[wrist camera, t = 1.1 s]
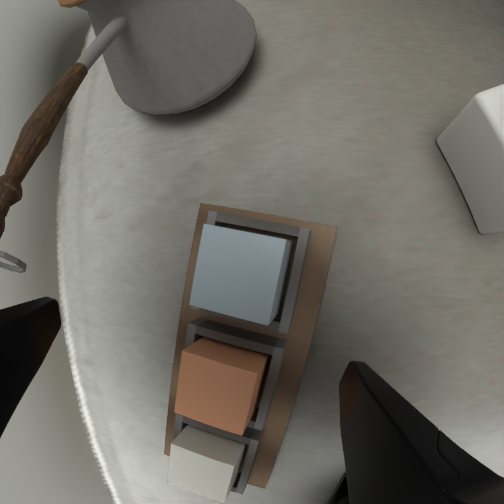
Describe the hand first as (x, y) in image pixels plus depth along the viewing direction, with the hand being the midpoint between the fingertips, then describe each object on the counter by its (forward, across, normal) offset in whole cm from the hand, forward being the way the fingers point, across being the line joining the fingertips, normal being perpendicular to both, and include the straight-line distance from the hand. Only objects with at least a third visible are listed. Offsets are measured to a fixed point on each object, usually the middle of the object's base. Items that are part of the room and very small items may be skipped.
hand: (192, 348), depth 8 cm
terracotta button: (+7, -1, +7) cm, 10 cm away
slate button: (+9, -1, +1) cm, 9 cm away
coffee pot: (+16, +5, -7) cm, 18 cm away
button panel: (+9, -2, +8) cm, 13 cm away
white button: (+5, -1, +14) cm, 15 cm away
